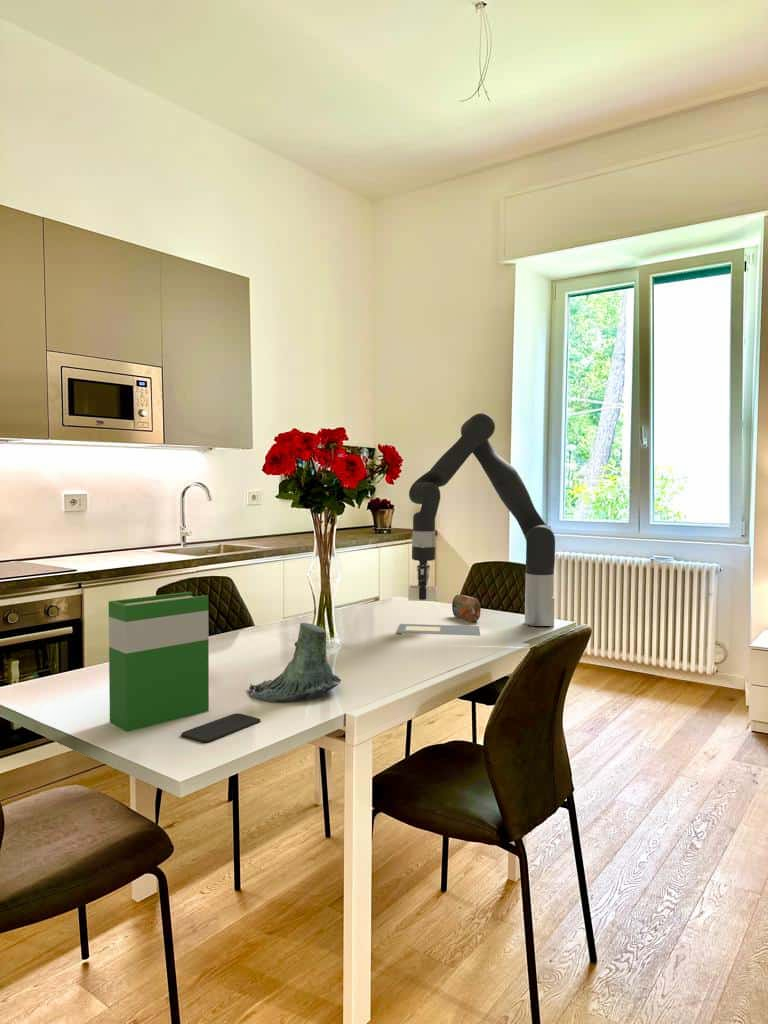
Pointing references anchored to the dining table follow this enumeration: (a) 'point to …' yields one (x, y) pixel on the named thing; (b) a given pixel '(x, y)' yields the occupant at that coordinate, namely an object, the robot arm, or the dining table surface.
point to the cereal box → (158, 659)
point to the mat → (438, 629)
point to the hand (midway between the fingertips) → (422, 597)
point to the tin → (466, 608)
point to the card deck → (430, 593)
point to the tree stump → (301, 671)
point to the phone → (220, 728)
